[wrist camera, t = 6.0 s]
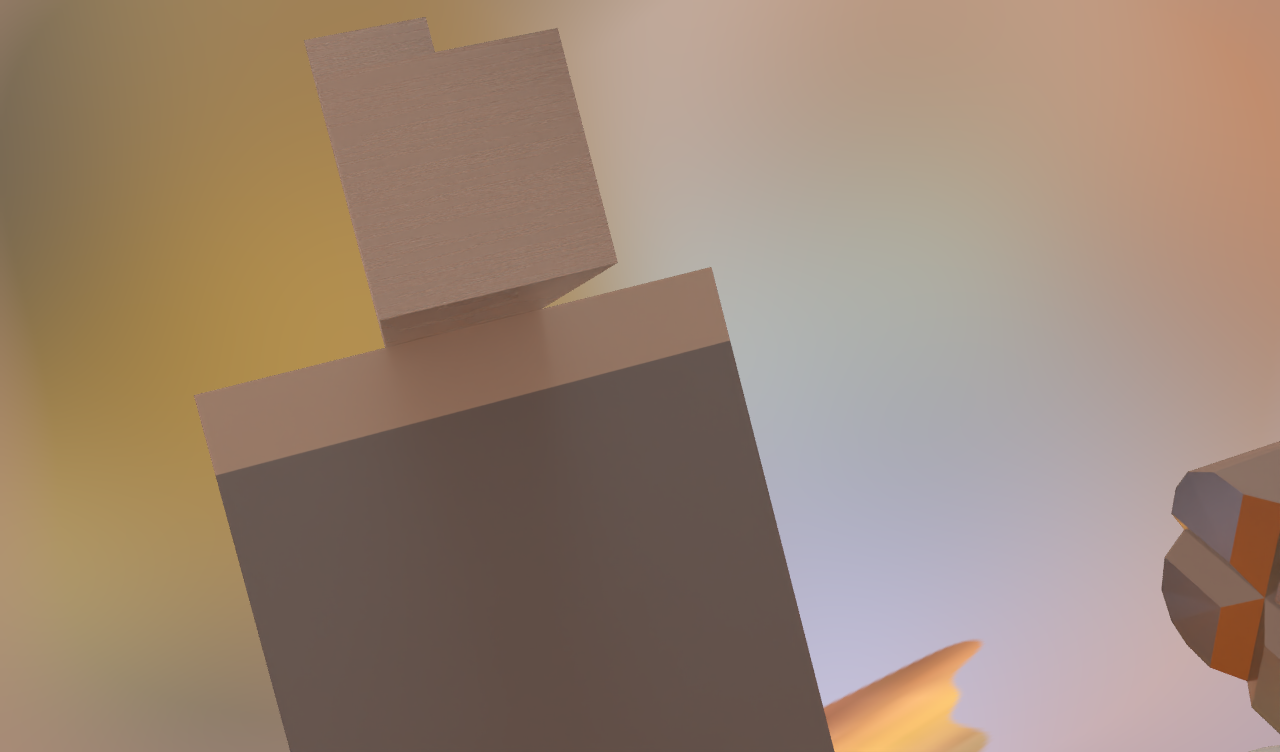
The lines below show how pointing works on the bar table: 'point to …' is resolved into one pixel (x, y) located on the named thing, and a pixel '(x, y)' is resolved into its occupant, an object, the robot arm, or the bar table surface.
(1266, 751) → the lightbulb
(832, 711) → the bar table surface
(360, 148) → the block
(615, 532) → the stand
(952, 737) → the bar table surface
